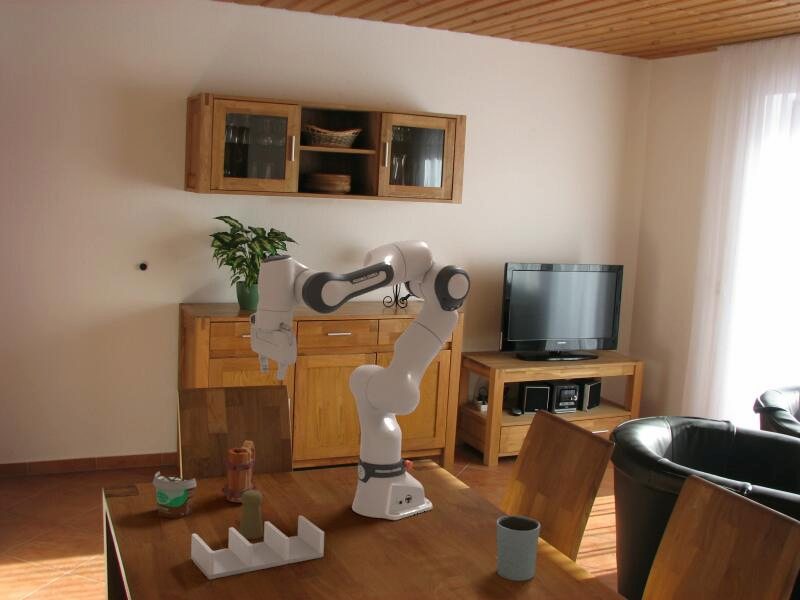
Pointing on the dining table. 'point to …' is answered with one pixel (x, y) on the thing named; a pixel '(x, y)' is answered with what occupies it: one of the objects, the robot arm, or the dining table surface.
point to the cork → (251, 515)
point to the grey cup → (517, 547)
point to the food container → (174, 495)
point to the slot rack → (258, 550)
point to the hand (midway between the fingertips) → (272, 375)
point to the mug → (239, 471)
